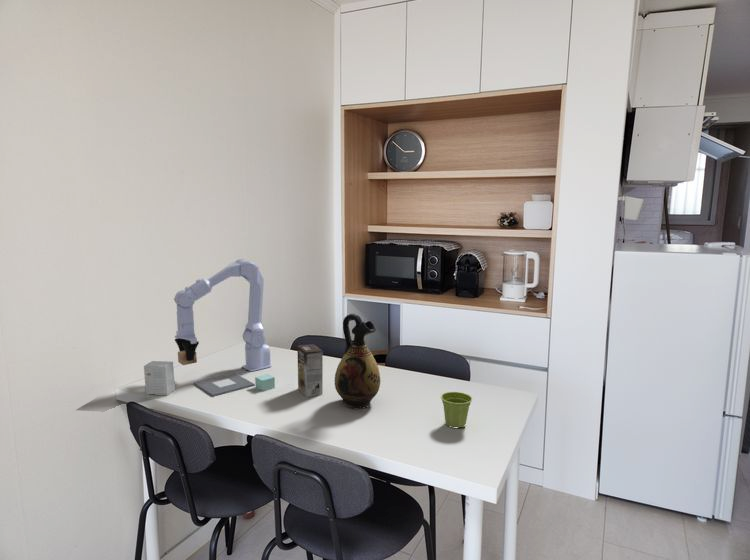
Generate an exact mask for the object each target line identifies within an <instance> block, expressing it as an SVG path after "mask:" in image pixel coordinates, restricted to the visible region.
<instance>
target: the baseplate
mask: <svg viewBox="0 0 750 560" xmlns="http://www.w3.org/2000/svg"><path fill="white" fill-rule="evenodd" d="M193 385H194V386H196V387H198V388H200V390H202V391H204V392H205V393H206V394H208V395H210V396H212V397H216V396H221V395H224V394H229V393H231V392H235V391H240V390H244V389H248V388H251V387H256V386H255V383H254V382H252V381H250V380H248V379H247V378H245V377H244V376H241V375H239V374H237V373H235V372H232V373H227V374H224V375H220V376H216V377H211V378H207V379H203V380H199V381H198V380H197V381H195V382H193Z"/></svg>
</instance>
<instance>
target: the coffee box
mask: <svg viewBox="0 0 750 560" xmlns="http://www.w3.org/2000/svg"><path fill="white" fill-rule="evenodd" d="M296 347H297V388H298V390H299V391H300V392H301V393H302V394H303V395H304V396H305V398H308V397H313V396H319V395H323V391H324V390H323V385H324V384H323V382H324V379H323V375H324V374H323V366H324V365H323V356H324V355H323V354H324V353H323V350H322V349H321V348H320V347H318V346H317V345H316V344H314V343H311V344H301V345H297V346H296Z"/></svg>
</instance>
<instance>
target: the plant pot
mask: <svg viewBox="0 0 750 560" xmlns="http://www.w3.org/2000/svg"><path fill="white" fill-rule="evenodd" d="M440 398H441V401H442V404H443V412H444V421H445V422H444V423H445V425H447V426H448V427H449V426H451V427H460V428H462V426H464V425H465V424H466V425H467V420H468V414H469V410H470V406H471V402H472V401H473V397H472V396H471V395H470V394H468V393H464V392H461V391H449V392H448V391H447V392H444V393H442V394H441V395H440ZM466 425H465V426H466ZM451 427H450V428H451Z"/></svg>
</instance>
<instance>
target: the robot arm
mask: <svg viewBox="0 0 750 560" xmlns="http://www.w3.org/2000/svg"><path fill="white" fill-rule="evenodd" d="M231 277H236V278H237V277H239V278H240V277H241V278H243V279H245V281H247V282H248V283H249V294H248V295H249V296H248V298H249V299H248V313H247V314H248V315H247V317H248V318H247V323H246V324H245V329H244V331H243V333H242V339H243V341H244V342H245V345H244V349H245V350H244V351H245V352H244V353H245V364H244V365H241V368H244V369H245V370H247V371H249V372H255V371H258V370H263V369H268V368H271V367H272V365H271V349H270V346H269V345H268V344H266V339H267V338H266V335H265V333H264V332H265V329H264V327H263V325H262V319H263V302H264V301H263V300H264V284H265V280H264V276H263V275H262V273H261V271H260V269H259V266H258V265H257V264H256V263H254V262H253V261H248V260H246V259H244V258H240V259H237V260H236V261H234V262H231V263H230V264H228V265H227V266H226V267H224V268H222V269H221V270H219V271H218V272H216V273H215V274H214V275H211V277H209V278H208V279H204V278H201V279H196V280H195V283H193V284H191V285H190V286H188V287H187V286H186V287H184V290H183V289H182V290H179V291H177V292H176V294H175V295H174V298H173V300H174V302H175V304H176V322H177V324H176V325H177V330H176V333H175V334H176V335H174V338H175V339H174V341H175V343H176V346H177V348H178V350H179V351H184V350H185V352H186V358H187V360H188V361H190V360H194V355H195V352H197V351H196V350H197V347H198V346H199V344H200V343H199V341H198V338H197V336H196V332H195V320H194V318H195V317H194V309H193V307H194V304H195V302H197V301H198V300H200V299H201V298H203V297H204V296H206V295H207V294H209V293H211V292H212V289H213V288H214V287H215V286H216V285H218V284H220V283H222V282H224V281H225V280H228V279H229V278H231Z"/></svg>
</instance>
